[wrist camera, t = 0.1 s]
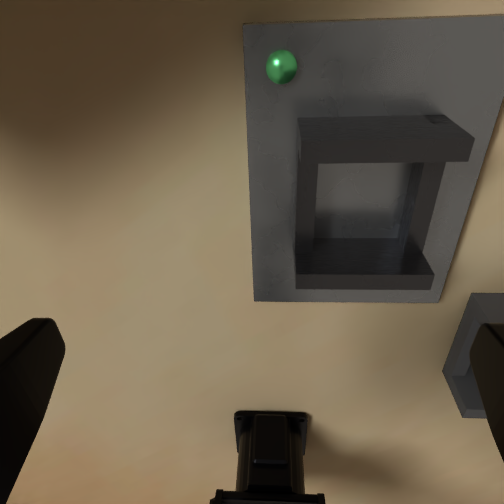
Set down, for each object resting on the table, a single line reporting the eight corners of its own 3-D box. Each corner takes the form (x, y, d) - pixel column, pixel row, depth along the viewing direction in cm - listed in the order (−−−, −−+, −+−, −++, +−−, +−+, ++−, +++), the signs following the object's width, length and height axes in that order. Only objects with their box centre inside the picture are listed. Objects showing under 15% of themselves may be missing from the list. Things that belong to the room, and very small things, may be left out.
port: (433, 292, 26) (459, 343, 22) (254, 291, 27) (251, 340, 23) (517, 13, 17) (585, 21, 13) (244, 23, 18) (235, 33, 14)
